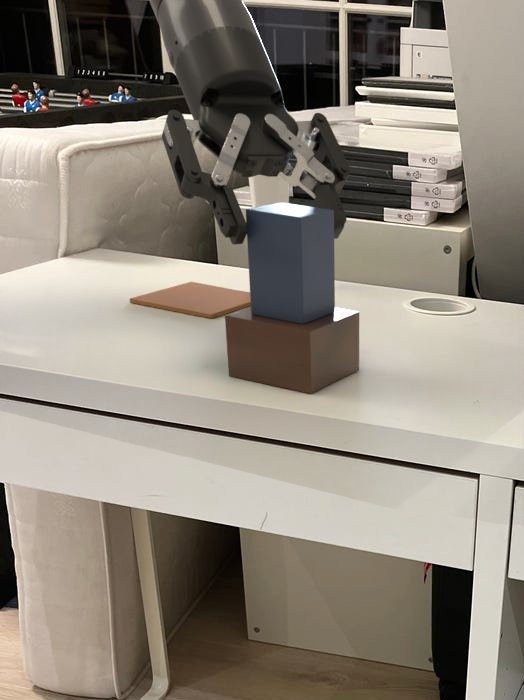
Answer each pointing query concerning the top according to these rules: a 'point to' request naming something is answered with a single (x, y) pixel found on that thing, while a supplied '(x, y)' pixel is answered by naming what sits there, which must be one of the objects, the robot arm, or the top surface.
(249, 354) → the base block
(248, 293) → the cork mat
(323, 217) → the top block
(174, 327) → the top surface
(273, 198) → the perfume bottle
